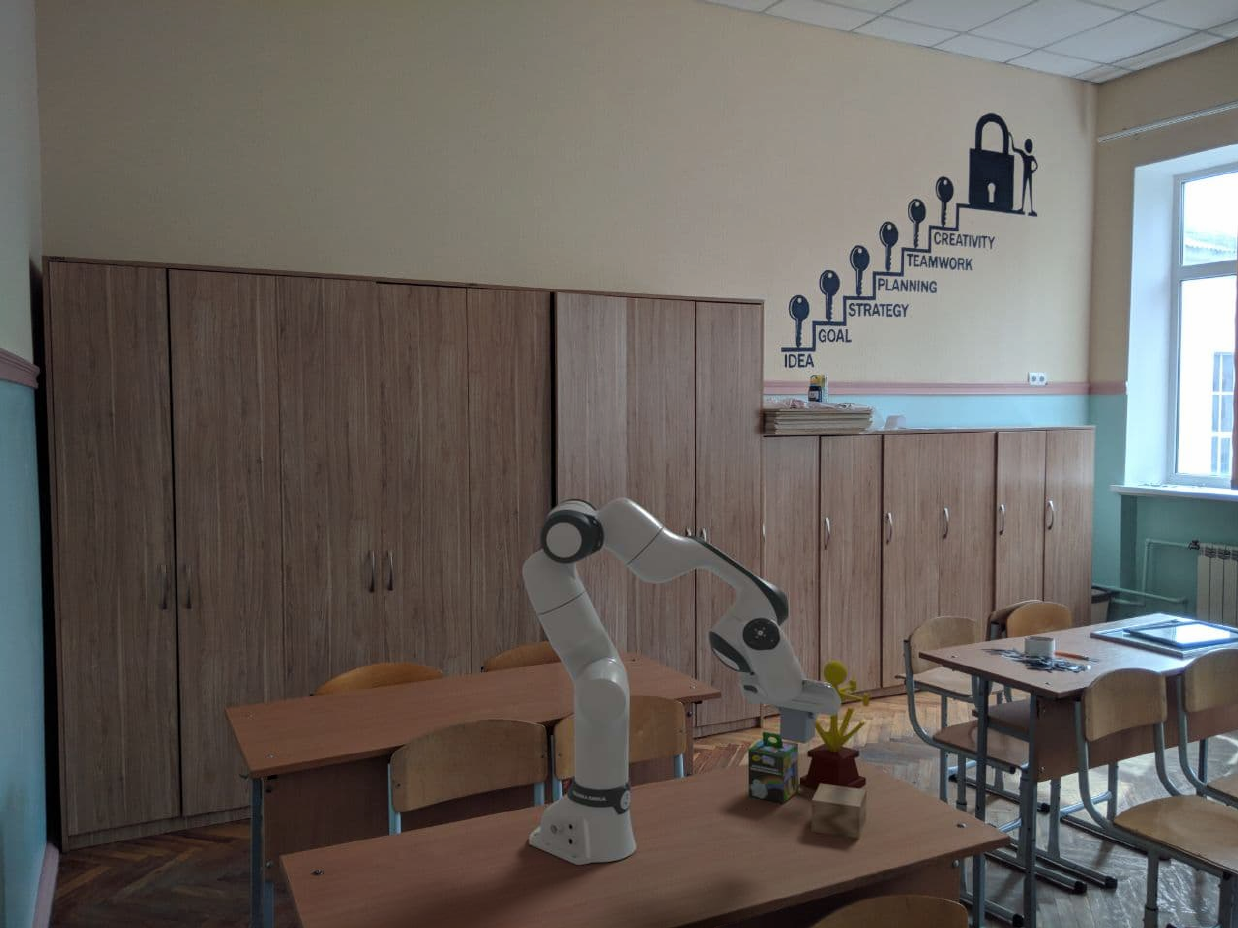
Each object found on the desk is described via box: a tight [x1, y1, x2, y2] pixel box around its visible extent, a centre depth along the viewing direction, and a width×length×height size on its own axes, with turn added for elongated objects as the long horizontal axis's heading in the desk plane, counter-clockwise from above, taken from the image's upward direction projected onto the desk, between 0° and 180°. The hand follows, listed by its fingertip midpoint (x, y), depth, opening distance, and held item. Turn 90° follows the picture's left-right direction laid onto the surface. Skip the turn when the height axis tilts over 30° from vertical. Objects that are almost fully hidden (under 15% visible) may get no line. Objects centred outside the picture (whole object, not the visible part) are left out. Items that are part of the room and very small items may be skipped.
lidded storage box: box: [779, 707, 816, 744], centre depth 204 cm, size 6×6×9 cm
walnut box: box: [811, 783, 867, 840], centre depth 212 cm, size 10×10×7 cm
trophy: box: [799, 660, 870, 791], centre depth 236 cm, size 14×16×30 cm
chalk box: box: [747, 731, 799, 805], centre depth 230 cm, size 9×9×15 cm
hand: (798, 713), depth 204 cm, fingers closed on lidded storage box, 5 cm apart
